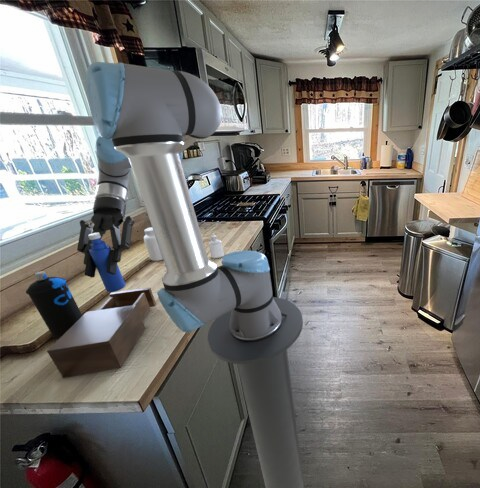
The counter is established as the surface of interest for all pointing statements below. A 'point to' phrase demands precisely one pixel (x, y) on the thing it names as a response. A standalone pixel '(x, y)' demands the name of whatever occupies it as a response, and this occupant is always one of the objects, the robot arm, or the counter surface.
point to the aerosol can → (54, 303)
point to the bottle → (104, 264)
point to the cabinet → (98, 341)
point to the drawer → (131, 300)
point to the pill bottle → (152, 245)
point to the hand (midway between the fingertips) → (100, 274)
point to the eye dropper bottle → (215, 247)
